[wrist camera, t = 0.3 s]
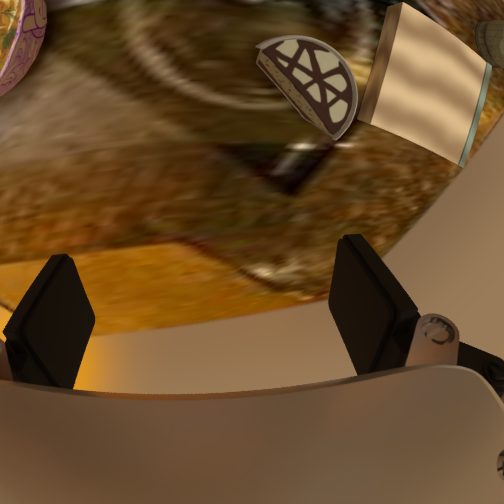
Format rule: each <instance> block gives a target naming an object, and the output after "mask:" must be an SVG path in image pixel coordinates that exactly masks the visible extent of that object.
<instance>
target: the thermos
mask: <svg viewBox="0 0 504 504" xmlns="http://www.w3.org/2000/svg"><path fill="white" fill-rule="evenodd" d="M475 39H476V44H477V47H478V50H479V52H480V54H481V56H482V57H483V59H484V60H485V61H486V62H488V63H489V64H490V65H491V66H495V67H501V68H502V69H504V20H491V21H480V22H479V23H478V24H477V26H476V29H475Z"/></svg>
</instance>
